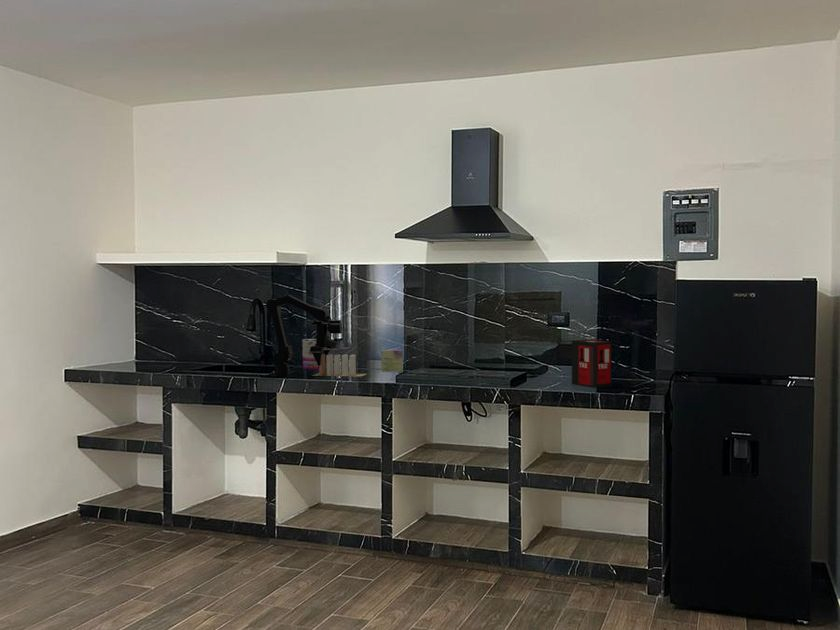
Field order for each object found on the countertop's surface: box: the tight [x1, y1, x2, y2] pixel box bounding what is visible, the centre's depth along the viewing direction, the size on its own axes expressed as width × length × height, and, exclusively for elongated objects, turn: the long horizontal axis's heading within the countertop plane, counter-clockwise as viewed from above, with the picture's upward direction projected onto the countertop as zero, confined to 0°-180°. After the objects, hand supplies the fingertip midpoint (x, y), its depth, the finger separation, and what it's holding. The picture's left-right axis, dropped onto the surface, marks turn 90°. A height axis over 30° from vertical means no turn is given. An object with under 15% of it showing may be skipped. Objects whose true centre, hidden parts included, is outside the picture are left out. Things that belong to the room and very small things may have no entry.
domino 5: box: [348, 354, 357, 377], centre depth 410 cm, size 2×5×10 cm, turn 167°
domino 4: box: [341, 353, 349, 377], centre depth 411 cm, size 2×5×10 cm, turn 167°
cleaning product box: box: [571, 339, 613, 389], centre depth 372 cm, size 16×9×20 cm, turn 30°
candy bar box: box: [301, 338, 319, 371], centre depth 444 cm, size 11×5×16 cm, turn 62°
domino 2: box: [326, 353, 334, 375], centre depth 413 cm, size 2×5×10 cm, turn 167°
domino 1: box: [318, 354, 327, 375], centre depth 414 cm, size 2×5×10 cm, turn 168°
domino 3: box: [333, 353, 342, 375], centre depth 412 cm, size 2×5×10 cm, turn 167°
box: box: [380, 349, 403, 374], centre depth 426 cm, size 10×6×12 cm, turn 100°
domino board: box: [311, 372, 367, 378], centre depth 412 cm, size 26×10×1 cm, turn 77°
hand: (322, 364), depth 414 cm, fingers open, 8 cm apart
